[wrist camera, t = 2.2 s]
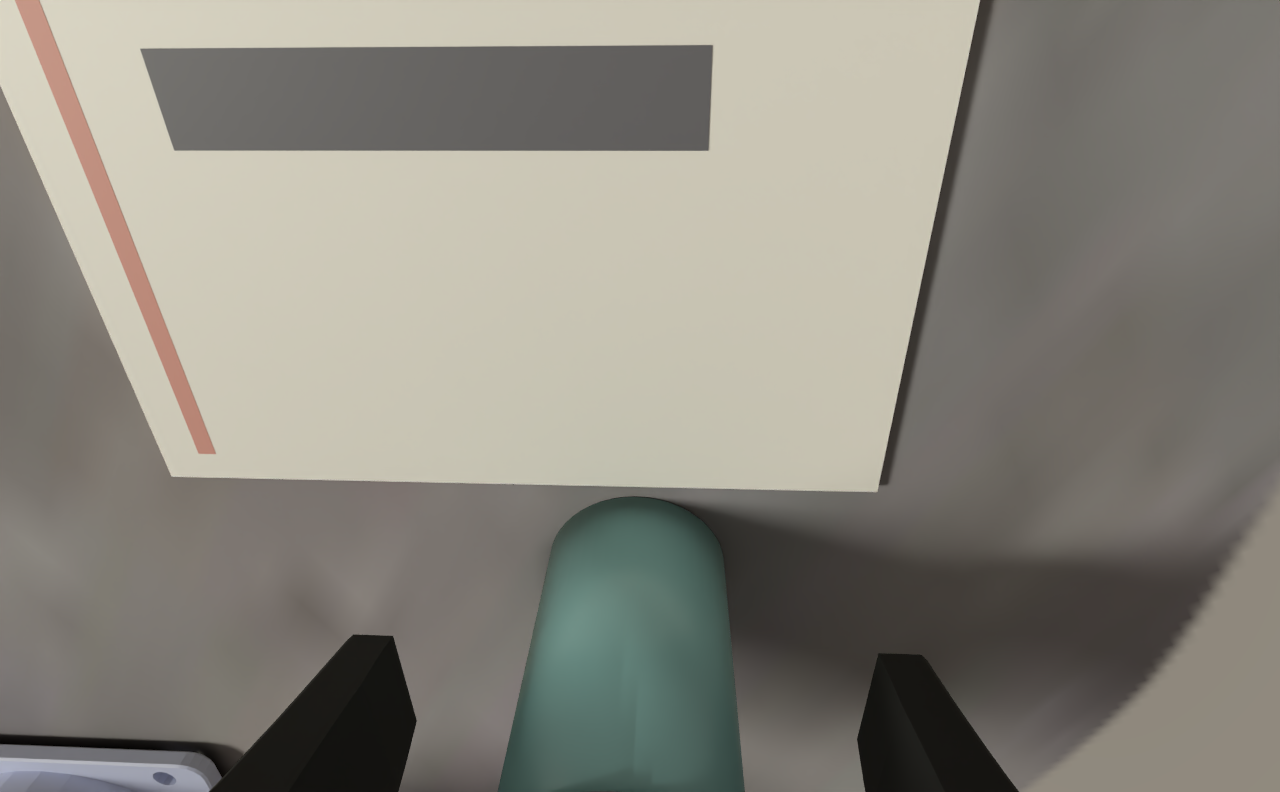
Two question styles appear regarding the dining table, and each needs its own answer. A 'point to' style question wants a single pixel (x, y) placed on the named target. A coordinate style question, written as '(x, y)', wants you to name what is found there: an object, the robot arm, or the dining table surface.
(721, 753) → the teal cylinder
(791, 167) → the paper
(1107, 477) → the dining table surface
